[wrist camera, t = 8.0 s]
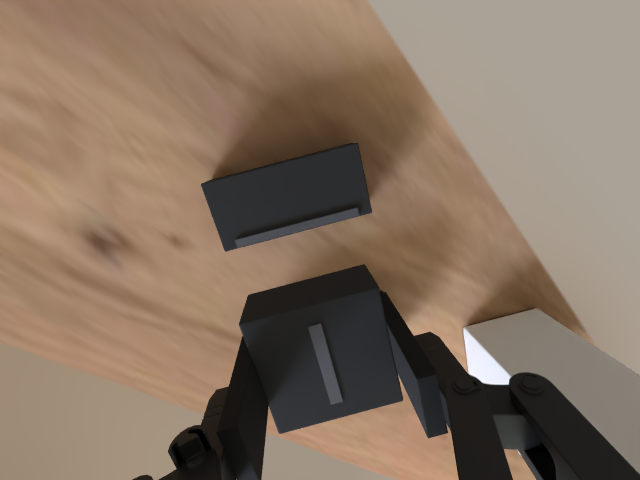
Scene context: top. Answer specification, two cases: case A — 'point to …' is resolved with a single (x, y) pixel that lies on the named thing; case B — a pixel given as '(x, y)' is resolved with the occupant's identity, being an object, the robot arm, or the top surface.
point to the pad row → (288, 196)
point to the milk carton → (561, 372)
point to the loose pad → (321, 348)
